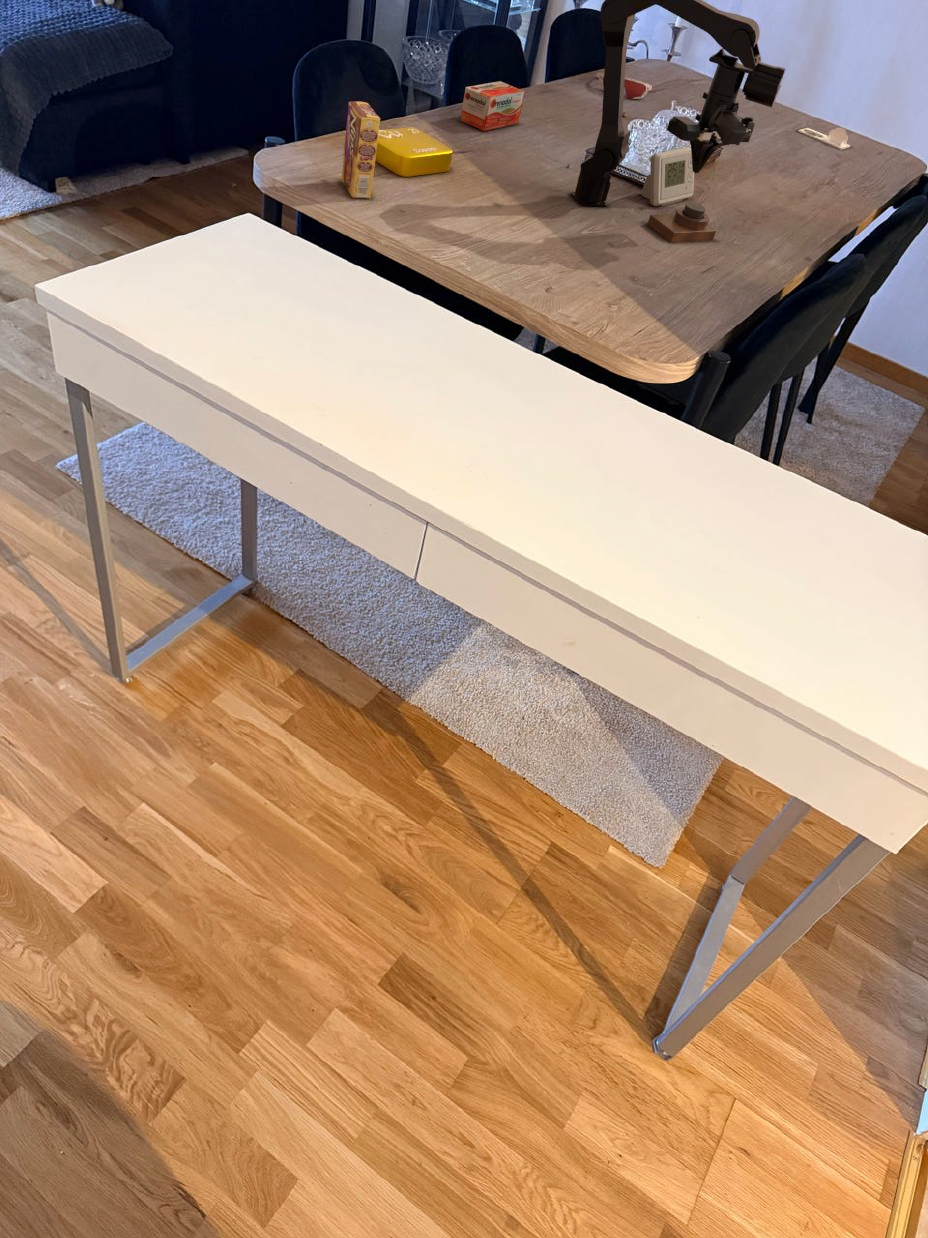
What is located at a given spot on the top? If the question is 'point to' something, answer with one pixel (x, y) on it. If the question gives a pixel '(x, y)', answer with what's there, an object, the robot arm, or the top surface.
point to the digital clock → (670, 177)
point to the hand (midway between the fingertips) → (695, 172)
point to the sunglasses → (630, 87)
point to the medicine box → (492, 105)
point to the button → (694, 210)
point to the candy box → (360, 149)
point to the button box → (682, 227)
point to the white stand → (829, 137)
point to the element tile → (411, 152)
